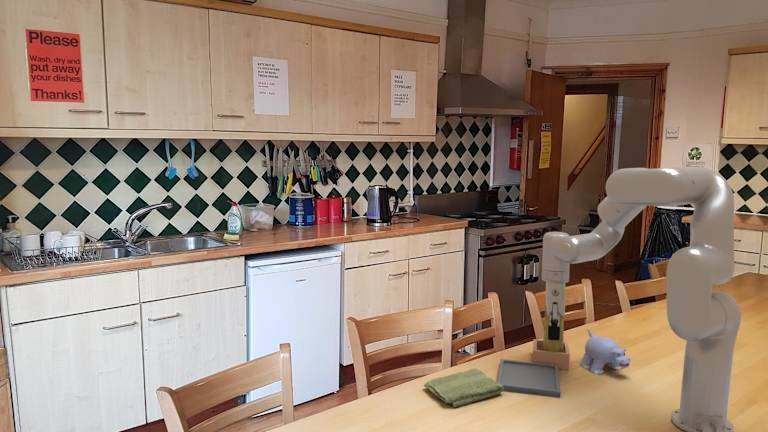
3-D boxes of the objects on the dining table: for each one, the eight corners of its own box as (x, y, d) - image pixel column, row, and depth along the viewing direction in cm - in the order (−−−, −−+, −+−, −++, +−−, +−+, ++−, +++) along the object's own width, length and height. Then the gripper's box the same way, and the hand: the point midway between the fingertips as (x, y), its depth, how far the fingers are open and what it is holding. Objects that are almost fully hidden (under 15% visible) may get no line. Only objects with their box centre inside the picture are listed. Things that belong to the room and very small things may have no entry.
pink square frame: (568, 369, 166) (569, 354, 166) (532, 365, 169) (533, 350, 168) (567, 356, 176) (567, 342, 175) (532, 353, 178) (533, 339, 178)
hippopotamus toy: (611, 382, 158) (613, 348, 157) (571, 362, 172) (573, 331, 171) (640, 375, 163) (642, 343, 162) (599, 357, 176) (601, 326, 175)
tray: (560, 397, 149) (560, 391, 149) (496, 389, 153) (496, 384, 153) (557, 369, 166) (558, 364, 166) (500, 363, 170) (500, 358, 170)
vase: (564, 358, 168) (566, 310, 166) (542, 357, 169) (544, 308, 167) (562, 351, 174) (564, 304, 172) (541, 349, 175) (542, 303, 173)
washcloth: (421, 389, 153) (421, 377, 152) (477, 376, 161) (477, 365, 160) (448, 410, 141) (449, 398, 141) (507, 395, 149) (508, 383, 149)
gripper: (570, 282, 159) (568, 347, 161) (567, 269, 176) (565, 328, 178) (542, 281, 161) (540, 344, 163) (541, 268, 178) (539, 326, 180)
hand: (553, 335), depth 171 cm, fingers closed on vase, 5 cm apart
